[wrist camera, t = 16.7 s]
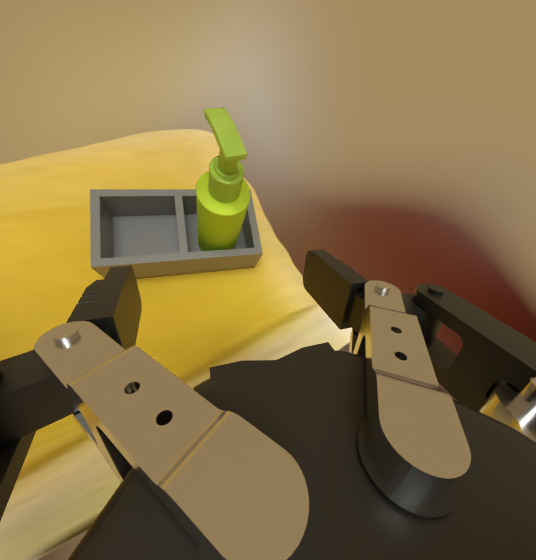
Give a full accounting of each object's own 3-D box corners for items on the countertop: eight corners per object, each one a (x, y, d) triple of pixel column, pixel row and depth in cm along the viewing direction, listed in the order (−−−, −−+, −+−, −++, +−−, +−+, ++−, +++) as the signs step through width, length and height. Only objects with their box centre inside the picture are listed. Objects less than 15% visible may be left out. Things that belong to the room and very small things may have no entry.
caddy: (108, 281, 34) (90, 267, 29) (107, 214, 37) (90, 189, 31) (254, 267, 40) (262, 253, 35) (244, 210, 43) (250, 189, 37)
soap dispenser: (225, 215, 41) (245, 100, 22) (241, 253, 39) (275, 163, 21) (190, 224, 39) (179, 105, 20) (205, 263, 37) (209, 176, 19)
